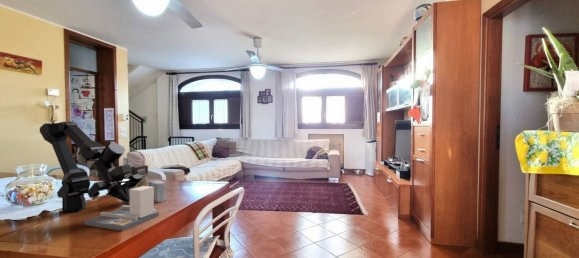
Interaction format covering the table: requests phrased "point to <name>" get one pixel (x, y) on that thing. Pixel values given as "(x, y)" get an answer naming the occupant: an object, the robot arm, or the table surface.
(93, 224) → the switch board
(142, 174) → the coffee box
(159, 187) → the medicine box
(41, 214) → the table surface
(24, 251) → the table surface
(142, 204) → the toggle
